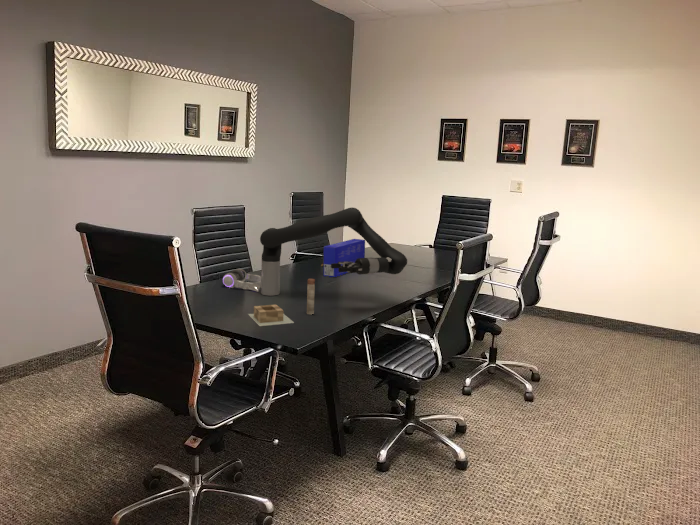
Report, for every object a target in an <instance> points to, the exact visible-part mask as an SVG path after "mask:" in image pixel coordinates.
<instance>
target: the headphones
mask: <svg viewBox="0 0 700 525" xmlns="http://www.w3.org/2000/svg"><path fill="white" fill-rule="evenodd" d="M244 274H245V275H244ZM244 276H245V277H244ZM247 281H248V282H247ZM249 281H250V282H249ZM222 283H223V285H225V287H226V288H227V287H229V288H228V289H230V288H232V289H234V288H238V289H243V290H245V291H253V292H256V293H257V292H258V293H259V292H260V289H261V275H258V274H253V273H247V272H246V271H245V269H241V268H236V269H233V270H231V271H230V272H227V273H225V274H224V275H223V276H222Z"/></svg>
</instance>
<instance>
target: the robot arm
mask: <svg viewBox="0 0 700 525" xmlns="http://www.w3.org/2000/svg"><path fill="white" fill-rule="evenodd" d="M343 227H348V228H350V229H351V230H353V231H354V232H355V233H357V234H358V235H359V236H361V237H362V238H363V240H365V242H366V243H367V244H368V245H369V246H370V247H371V249H372V250H374V252H375V253H377V255H378V256H379V257H365V258H358V259H356V261H355V263H353V262H350V261H345V262H338V263H332V264H331V268H332V269H333V268H339V272H350V273H349V274H357V275H370V274H371V275H373V274H378V273H379V274H380V273H386V274H391V275H398V274H400V273H401V272H402V271H403V270H404V268H405V267H406V266H407V264H408V259H407V257H406V255H404V253H402V252H401V251H399V250H397V249H396V248H394V247H392V246H391V245H390V244H389V243H388V242H387V241H386V239H384V238H383V237H382V236H381V235H380V234H378V233H377V231H375V230H374V229H373V228H372V227H371V226H370V225H369V223H368V222H367V221H366V220H365V218H364V216H363V214H362V212H361V211H360V210H359V209H358V208H356V207H348V208H345V209H342V210H339V211H337V212H334V213H330V214H324V215H321V216H315V217H311V218H308V219H307V218H306V219H303V220H300V221H297V222H296V223H293V224H290V225H288V226H284V227H280V228H275V227H269V228H268V229H265V230H264V231H262V233H261V235H260V238H259V239H260V240H259V241H260V244H261V245H262V246H263V247H262V248H263V249H262V254H261V274H260V276H261V288H260V294H261V295H263V296H269V297H270V296H271V297H272V296H278V295H280V292H281V291H280V289H281V288H280V286H281V285H280V284H281V283H280V280H281V278H280V277H281V254H282V245H283V244H285V243H290V242H294V241H295V242H296V241H302V240H307V239H312V238H316V237H319V236H322V235H324V234H327V233H329V231H332V230H334V229H338V228H343ZM387 258H389V259H391V260H390V261H389V260H388V259H387ZM341 264H343V265H342V266H341Z"/></svg>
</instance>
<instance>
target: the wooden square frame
mask: <svg viewBox="0 0 700 525" xmlns="http://www.w3.org/2000/svg"><path fill="white" fill-rule="evenodd" d="M253 314H254V317H255V318H256V319H257V320H258V321H259V322H260V323H265V322H276V321H283V314H285V313H284V310H283V308H281V307H280V306H278V305H277V304H266V305H254V306H253Z"/></svg>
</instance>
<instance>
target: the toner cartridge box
mask: <svg viewBox="0 0 700 525" xmlns="http://www.w3.org/2000/svg"><path fill="white" fill-rule="evenodd" d="M365 251H366V240H365V239H360V238H352V239H347V240H344V241H341V242H336V243H332V244H328V245H325V246H324V245H323V255H322V256H323V259H322V260H323V262H322V263H323V266H322V273H323V274H322V275H323V277H326V276H329V277H328V278H332V277H336V278H338V277H341V276H344V275H347V274H350V273H349V272H339V268H333V269H332V268H331V264H332V263H338V262H345V261H350V262H353V263H355V261H356V259H358V258H366V255H365V254H366V252H365ZM342 265H343V264H341V266H342ZM346 273H347V274H346ZM343 274H344V275H343ZM340 275H341V276H340ZM337 276H338V277H337Z"/></svg>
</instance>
